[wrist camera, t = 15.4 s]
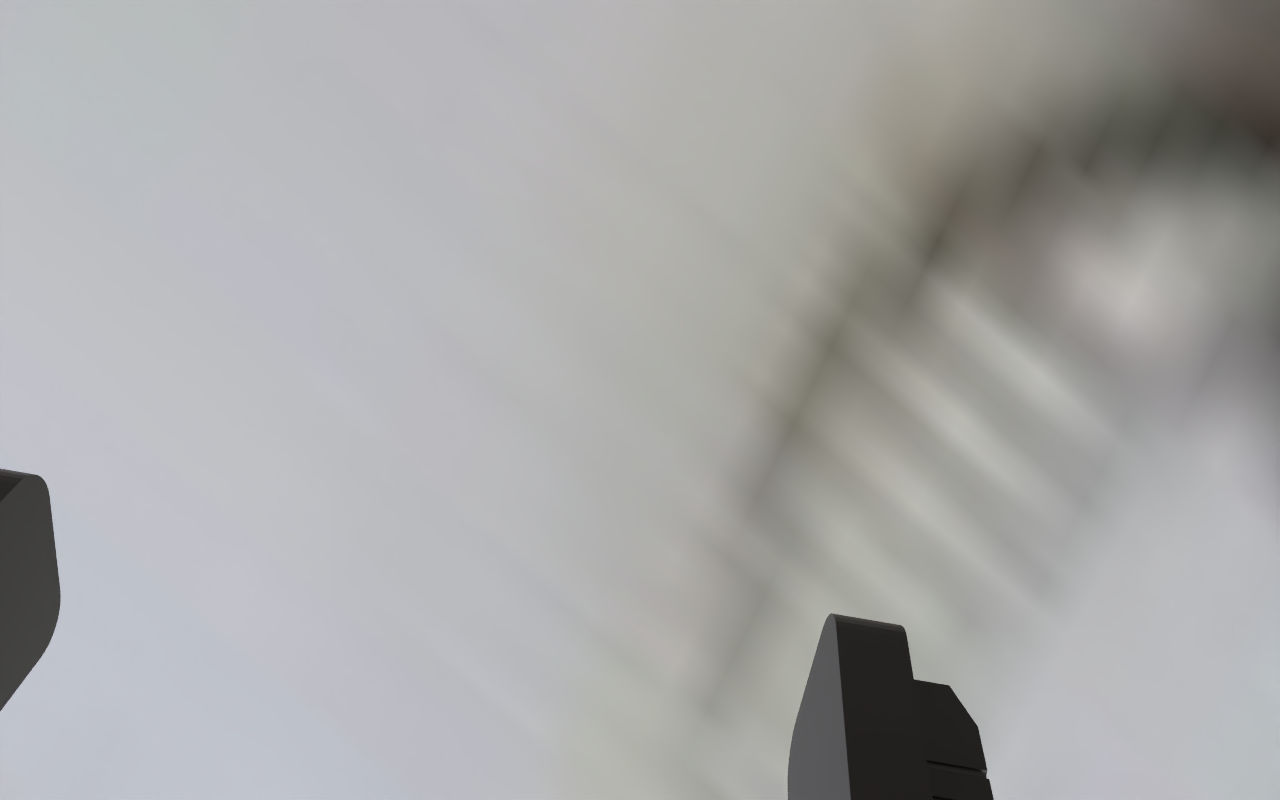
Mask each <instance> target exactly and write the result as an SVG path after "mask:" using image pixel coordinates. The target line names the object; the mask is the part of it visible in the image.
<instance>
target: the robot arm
mask: <svg viewBox="0 0 1280 800" xmlns="http://www.w3.org/2000/svg"><path fill="white" fill-rule="evenodd" d="M59 609H60V585H59V576H58V567H57V558H56V549H55V541H54V532H53V523H52V514H51V505H50V497H49V491H48V488H47V485H46V483H45V481H44V480H43V479H42V478H41V477H40V476H38V475H34V474H28V473H22V472H16V471H11V470H5V469H0V711H1V710H2V708H3V707H4V706H5V704H6V703H7V702H8V700H9V699H10V698H11V696H12V695H13V694H14V692H15V691H16V690H17V688H18V687H19V686H20V684H21V683H22V682H23V680H24V679H25V678H26V676H27V675H28V674H29V672H30V671H31V670H32V668H33V667H34V666H35V664H36V663H37V662H38V660H39V659H40V658H41V656H42V655H43V653H44V652H45V650H46V648H47V646H48V645H49V642H50V640H51V638H52V636H53V633H54V630H55V627H56V623H57V620H58V615H59ZM986 774H987V767H986V762H985V758H984V753H983V748H982V744H981V739H980V734H979V730H978V726H977V725H976V724H975V722H974V721H973V719H972V718H971V716H970V715H969V713H968V712H967V711H966V709H965V708H964V706H963V705H962V703H961V702H960V701H959V699H958V698H957V696H956V695H955V693H954V692H953V690H952V689H951V688H950V686H949V685H943V684H937V683H931V682H926V681H920V680H914V679H913V672H912V666H911V660H910V654H909V647H908V641H907V636H906V632H905V629H904V628H903V626H901V625H896V624H890V623H884V622H878V621H872V620H867V619H861V618H855V617H849V616H843V615H837V614H832V613H831V614H830V615H829V616H828V617H827V619H826V621H825V624H824V626H823V630H822V633H821V636H820V640H819V643H818V647H817V650H816V654H815V657H814V660H813V664H812V667H811V671H810V674H809V678H808V681H807V685H806V688H805V691H804V695H803V698H802V702H801V705H800V709H799V712H798V716H797V719H796V723H795V727H794V731H793V737H792V742H791V749H790V757H789V767H788V800H994V799H993V795H992V790H991V785H990V781H989V779H987V778H986Z"/></svg>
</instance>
